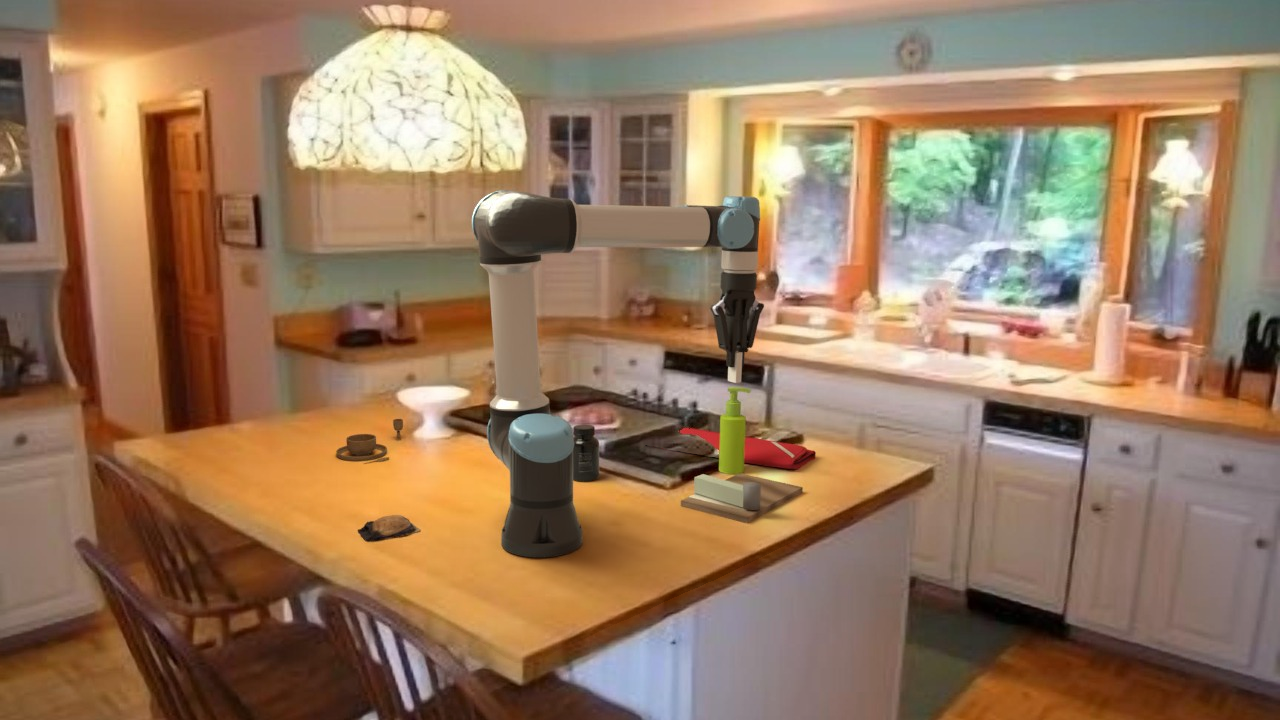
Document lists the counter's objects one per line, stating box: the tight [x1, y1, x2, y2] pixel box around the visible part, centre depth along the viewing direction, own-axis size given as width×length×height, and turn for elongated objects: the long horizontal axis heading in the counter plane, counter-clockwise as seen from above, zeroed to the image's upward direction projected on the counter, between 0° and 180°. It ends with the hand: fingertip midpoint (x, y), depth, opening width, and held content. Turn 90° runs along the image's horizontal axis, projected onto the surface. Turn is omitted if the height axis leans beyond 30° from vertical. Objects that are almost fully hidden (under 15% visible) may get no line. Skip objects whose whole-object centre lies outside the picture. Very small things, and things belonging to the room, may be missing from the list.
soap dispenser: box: [718, 386, 752, 475], centre depth 220 cm, size 6×7×20 cm
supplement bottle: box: [573, 423, 600, 482], centre depth 214 cm, size 7×7×12 cm
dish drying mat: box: [678, 427, 817, 470], centre depth 237 cm, size 16×41×4 cm, turn 58°
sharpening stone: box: [693, 473, 761, 510], centre depth 197 cm, size 16×4×5 cm, turn 47°
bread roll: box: [357, 514, 422, 543], centre depth 181 cm, size 11×8×4 cm
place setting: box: [335, 418, 404, 465], centre depth 233 cm, size 18×20×6 cm
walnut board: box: [680, 473, 804, 524], centre depth 202 cm, size 24×16×1 cm, turn 143°
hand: (734, 381), depth 201 cm, fingers closed
